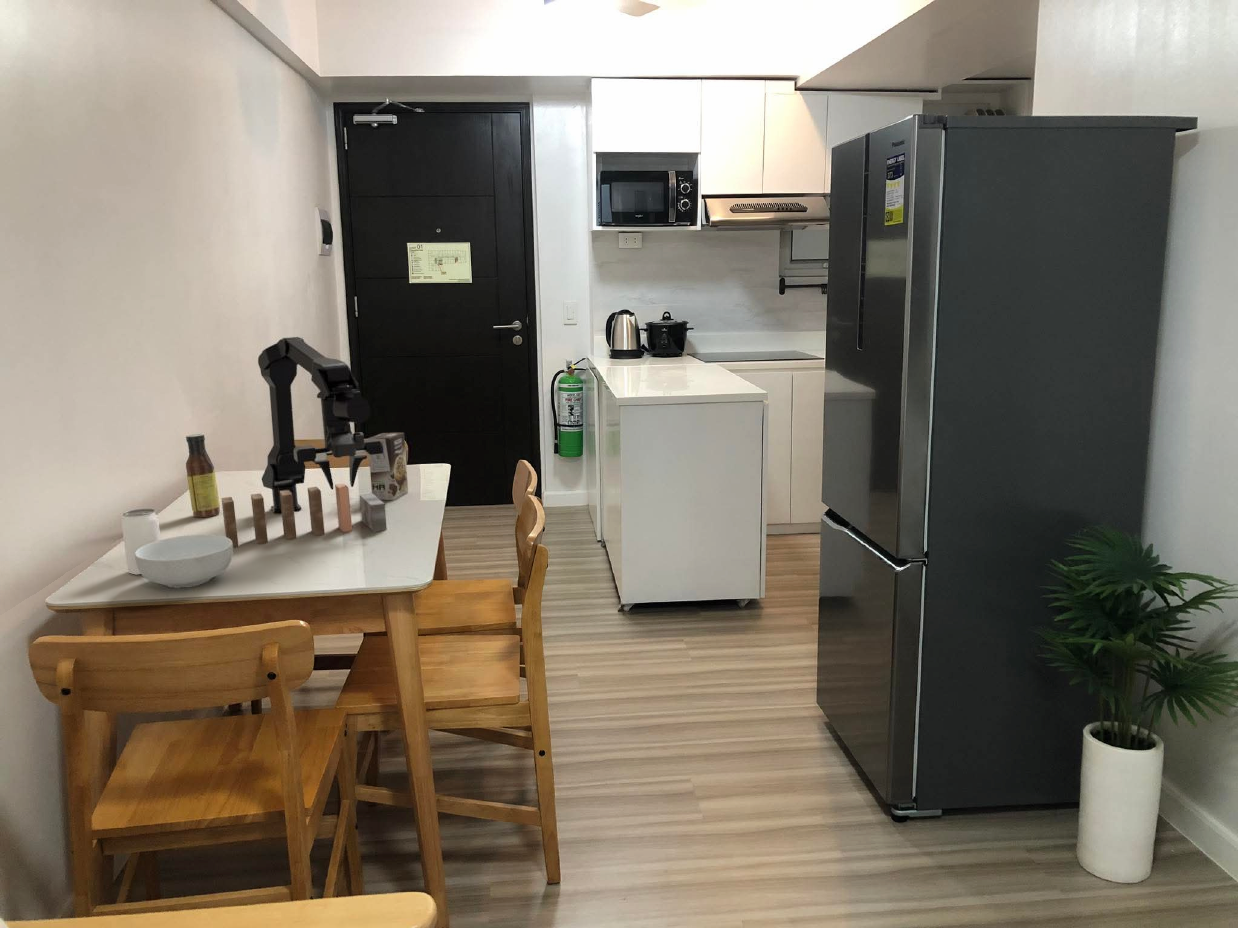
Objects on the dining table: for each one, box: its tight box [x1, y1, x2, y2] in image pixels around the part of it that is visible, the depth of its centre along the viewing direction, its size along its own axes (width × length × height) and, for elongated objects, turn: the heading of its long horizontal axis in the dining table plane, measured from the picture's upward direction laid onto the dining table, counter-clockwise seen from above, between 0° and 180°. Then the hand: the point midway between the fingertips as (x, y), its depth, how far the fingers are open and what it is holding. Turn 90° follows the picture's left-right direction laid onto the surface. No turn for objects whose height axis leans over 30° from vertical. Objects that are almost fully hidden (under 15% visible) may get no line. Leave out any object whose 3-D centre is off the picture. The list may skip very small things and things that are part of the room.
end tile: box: [334, 483, 353, 533], centre depth 217 cm, size 2×5×10 cm, turn 27°
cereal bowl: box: [135, 534, 234, 589], centre depth 182 cm, size 17×17×7 cm
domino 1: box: [221, 496, 239, 549], centre depth 207 cm, size 2×5×10 cm, turn 27°
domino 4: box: [307, 486, 326, 537], centre depth 215 cm, size 2×5×10 cm, turn 27°
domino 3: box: [280, 490, 298, 541], centre depth 212 cm, size 2×5×10 cm, turn 27°
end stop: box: [359, 493, 388, 533], centre depth 220 cm, size 12×3×6 cm, turn 27°
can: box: [121, 508, 162, 575], centre depth 189 cm, size 6×6×12 cm
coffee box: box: [367, 432, 409, 501], centre depth 248 cm, size 9×6×16 cm
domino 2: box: [250, 493, 269, 545], centre depth 209 cm, size 2×5×10 cm, turn 27°
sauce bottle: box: [185, 433, 221, 518], centre depth 232 cm, size 7×6×20 cm
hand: (342, 487), depth 216 cm, fingers open, 4 cm apart
